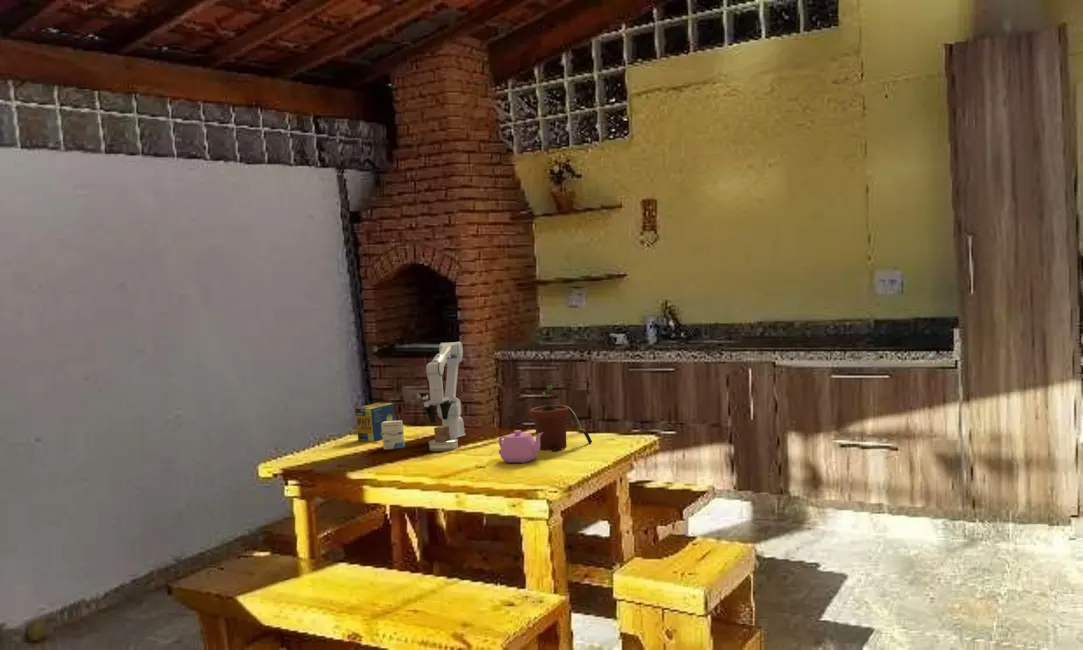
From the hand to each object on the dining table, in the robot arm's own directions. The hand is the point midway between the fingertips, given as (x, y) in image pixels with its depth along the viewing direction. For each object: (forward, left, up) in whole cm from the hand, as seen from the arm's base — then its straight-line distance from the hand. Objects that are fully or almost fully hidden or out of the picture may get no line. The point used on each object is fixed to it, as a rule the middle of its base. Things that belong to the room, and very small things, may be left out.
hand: (439, 420), depth 385 cm
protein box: (-2, -43, -11) cm, 45 cm away
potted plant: (-10, +56, -11) cm, 58 cm away
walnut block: (+6, +7, -7) cm, 11 cm away
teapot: (+15, +57, -11) cm, 60 cm away
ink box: (+12, -17, -11) cm, 23 cm away
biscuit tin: (+6, +7, -11) cm, 14 cm away
